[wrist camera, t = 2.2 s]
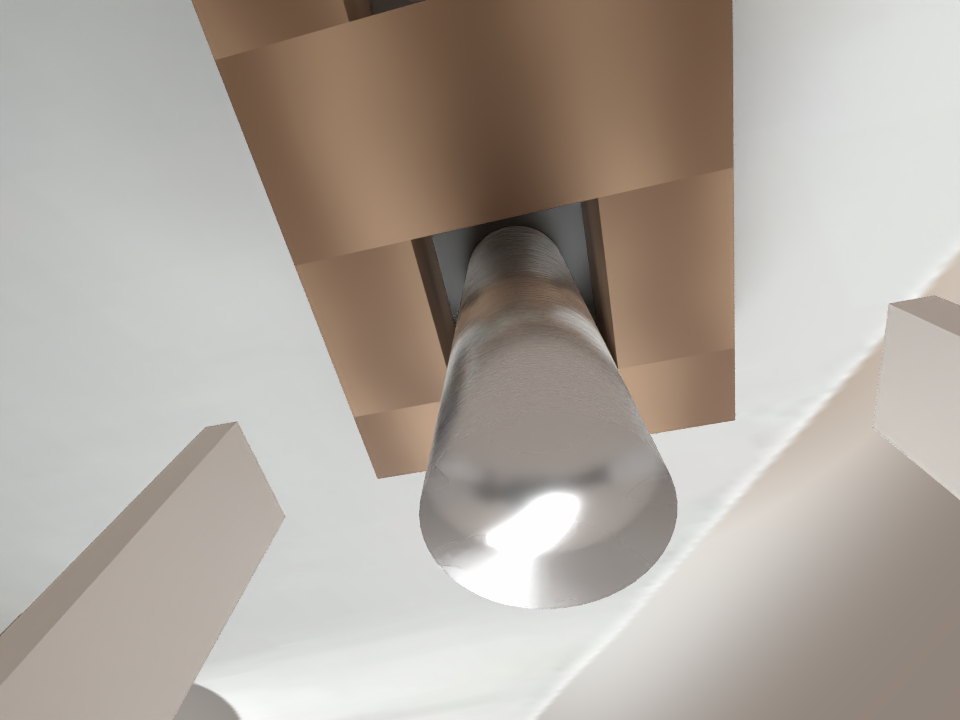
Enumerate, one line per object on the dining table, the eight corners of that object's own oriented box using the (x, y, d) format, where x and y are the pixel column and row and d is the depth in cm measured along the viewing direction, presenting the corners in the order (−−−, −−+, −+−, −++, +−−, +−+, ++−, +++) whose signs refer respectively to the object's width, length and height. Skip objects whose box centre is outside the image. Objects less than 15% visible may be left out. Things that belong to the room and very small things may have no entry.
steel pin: (479, 328, 21) (453, 621, 9) (457, 237, 20) (387, 438, 7) (570, 310, 21) (684, 593, 8) (556, 215, 19) (669, 388, 7)
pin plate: (395, 424, 24) (376, 483, 20) (146, -290, 14) (8, -453, 10) (695, 371, 22) (738, 424, 18) (658, -488, 12) (735, -779, 8)
